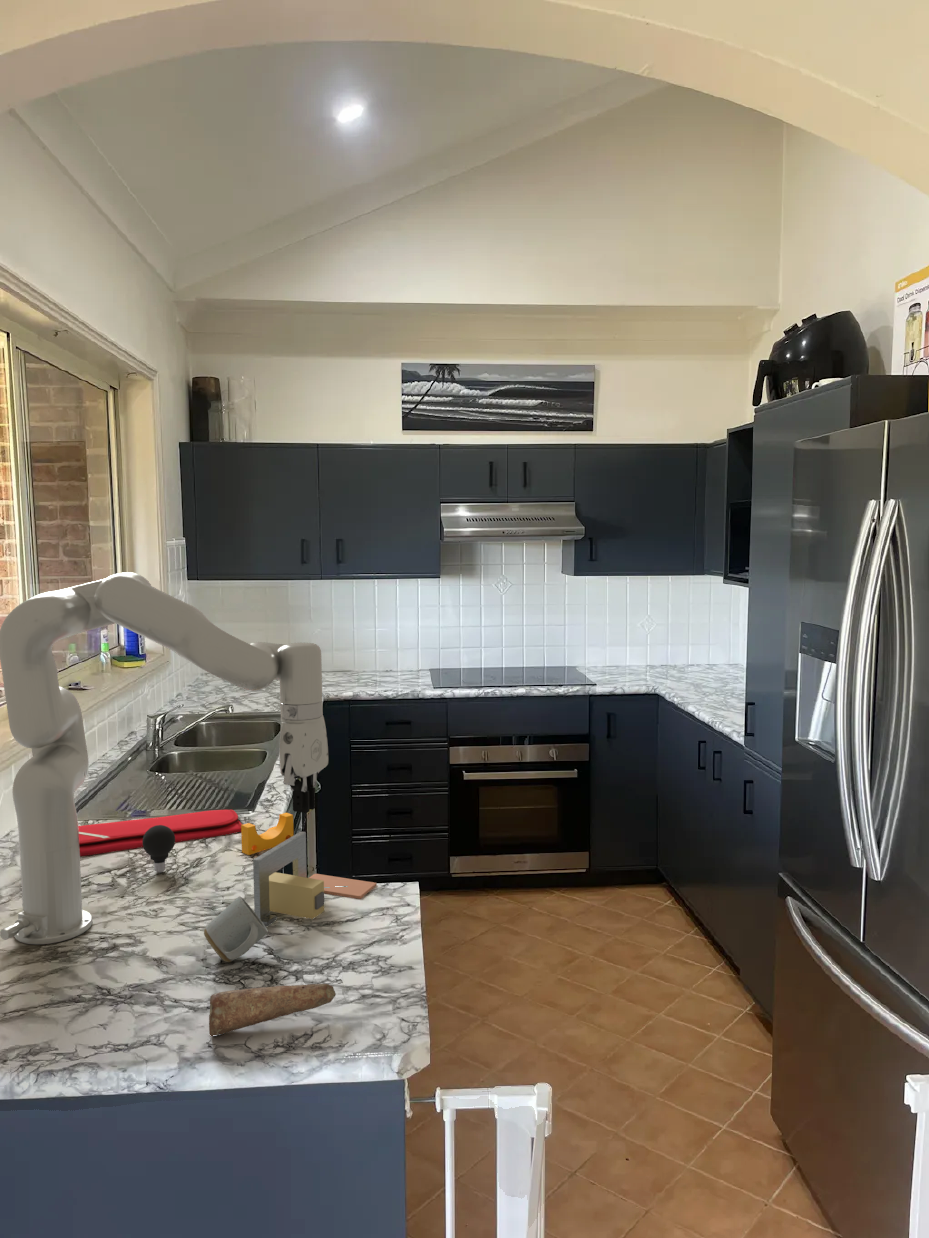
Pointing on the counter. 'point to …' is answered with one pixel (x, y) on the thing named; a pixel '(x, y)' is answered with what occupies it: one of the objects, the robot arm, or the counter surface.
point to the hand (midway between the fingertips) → (304, 809)
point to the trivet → (354, 886)
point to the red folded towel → (133, 831)
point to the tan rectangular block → (296, 895)
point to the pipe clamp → (266, 835)
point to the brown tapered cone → (263, 1004)
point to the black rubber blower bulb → (159, 845)
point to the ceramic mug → (235, 930)
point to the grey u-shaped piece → (270, 864)
